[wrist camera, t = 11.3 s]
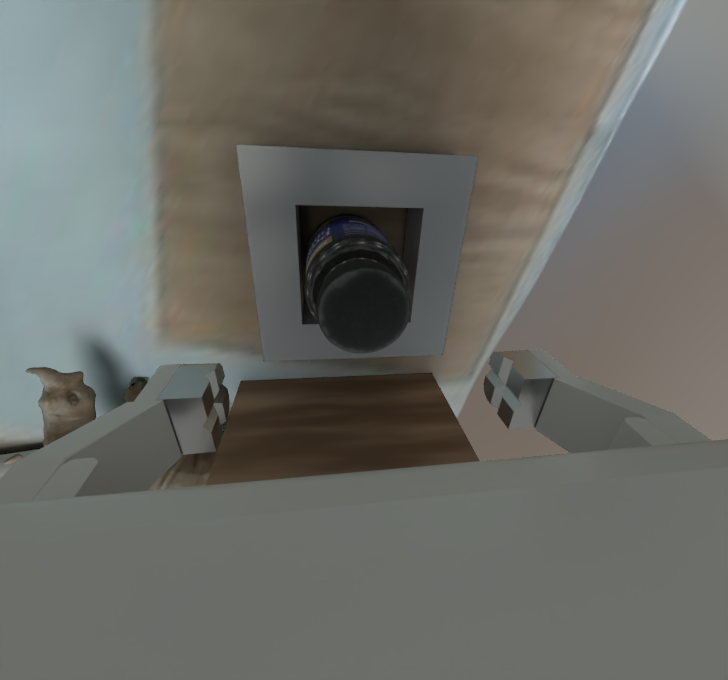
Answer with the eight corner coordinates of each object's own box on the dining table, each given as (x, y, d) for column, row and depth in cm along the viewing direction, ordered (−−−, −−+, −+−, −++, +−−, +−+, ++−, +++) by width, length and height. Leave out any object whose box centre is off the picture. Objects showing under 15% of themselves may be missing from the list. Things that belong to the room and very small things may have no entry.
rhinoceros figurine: (231, 504, 34) (69, 626, 19) (156, 404, 36) (-38, 445, 22) (281, 455, 32) (146, 547, 18) (200, 355, 35) (23, 364, 20)
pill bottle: (312, 206, 24) (310, 239, 14) (393, 221, 25) (441, 261, 15) (303, 287, 26) (295, 360, 17) (376, 297, 28) (408, 371, 18)
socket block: (248, 146, 21) (236, 144, 18) (453, 156, 23) (478, 156, 20) (270, 336, 28) (263, 361, 25) (427, 332, 30) (442, 355, 26)
